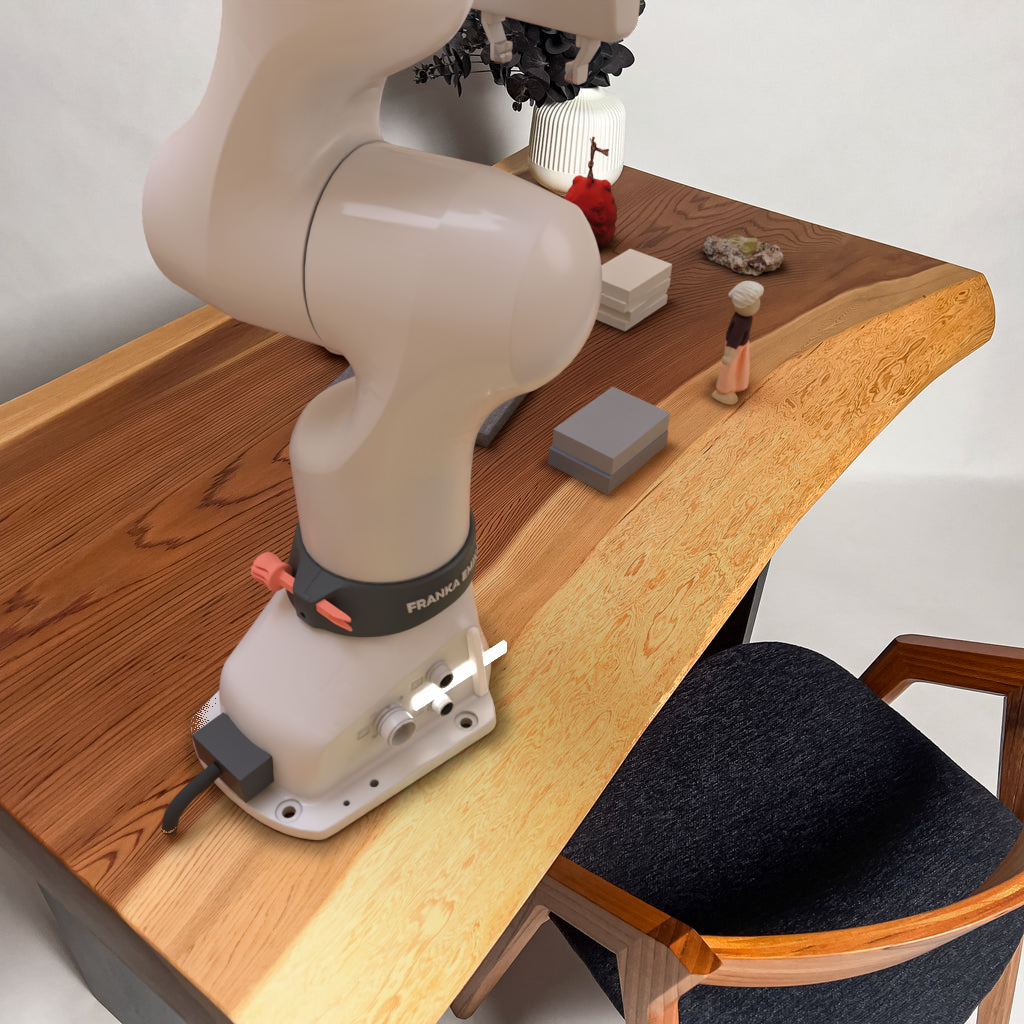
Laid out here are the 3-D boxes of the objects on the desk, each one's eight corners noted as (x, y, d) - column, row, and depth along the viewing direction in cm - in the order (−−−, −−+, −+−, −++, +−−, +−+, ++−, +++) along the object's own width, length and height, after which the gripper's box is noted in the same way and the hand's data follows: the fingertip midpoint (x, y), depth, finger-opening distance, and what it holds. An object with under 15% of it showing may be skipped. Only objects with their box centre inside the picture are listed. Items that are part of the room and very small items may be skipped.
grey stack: (607, 495, 88) (611, 461, 86) (547, 464, 92) (549, 430, 89) (665, 446, 94) (671, 413, 92) (607, 418, 98) (611, 385, 95)
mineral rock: (793, 239, 126) (782, 246, 119) (785, 272, 127) (774, 281, 121) (713, 224, 129) (698, 230, 122) (707, 257, 131) (691, 265, 124)
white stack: (624, 333, 111) (628, 305, 108) (578, 314, 114) (580, 286, 111) (670, 302, 116) (674, 275, 114) (625, 285, 120) (628, 258, 117)
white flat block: (628, 303, 109) (629, 291, 107) (585, 286, 111) (586, 273, 110) (670, 276, 114) (672, 263, 113) (628, 260, 117) (630, 248, 116)
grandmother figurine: (745, 412, 99) (771, 302, 91) (708, 407, 100) (730, 297, 91) (746, 373, 105) (771, 266, 97) (711, 368, 105) (732, 261, 97)
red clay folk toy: (617, 236, 130) (630, 123, 120) (608, 258, 125) (620, 142, 115) (562, 228, 131) (570, 116, 121) (551, 250, 126) (558, 135, 116)
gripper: (435, -103, 89) (438, 55, 98) (616, -69, 80) (601, 102, 89) (480, -110, 93) (479, 43, 102) (658, -79, 84) (639, 87, 93)
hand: (537, 71), depth 96 cm, fingers open, 8 cm apart
